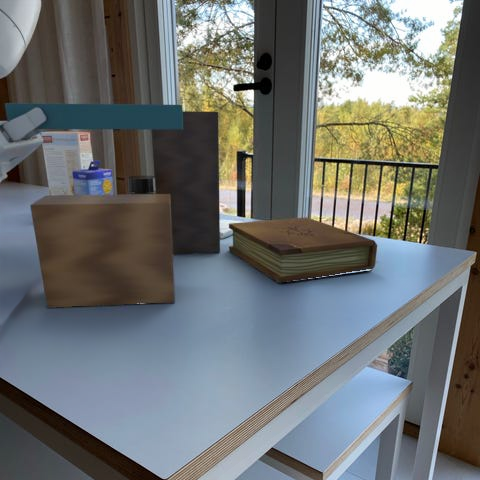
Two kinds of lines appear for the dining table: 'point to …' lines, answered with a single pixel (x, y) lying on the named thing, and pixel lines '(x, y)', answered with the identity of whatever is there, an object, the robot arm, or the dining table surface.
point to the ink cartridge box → (93, 180)
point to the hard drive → (226, 228)
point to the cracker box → (65, 158)
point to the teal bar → (103, 115)
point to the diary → (301, 248)
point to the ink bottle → (141, 185)
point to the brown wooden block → (105, 249)
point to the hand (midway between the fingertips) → (48, 112)
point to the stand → (190, 180)
